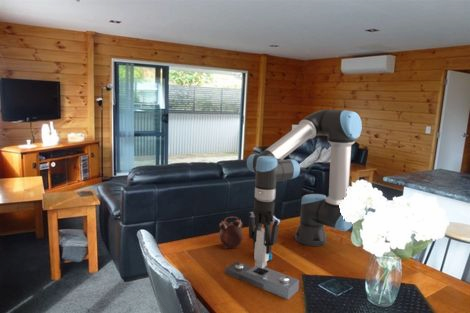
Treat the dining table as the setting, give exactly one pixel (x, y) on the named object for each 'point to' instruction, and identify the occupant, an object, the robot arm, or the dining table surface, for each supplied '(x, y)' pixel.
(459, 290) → the dining table surface
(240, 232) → the alarm clock
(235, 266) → the grey studded bar
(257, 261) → the steel pin
